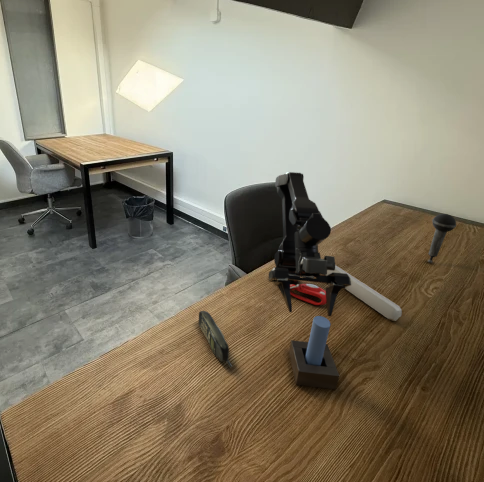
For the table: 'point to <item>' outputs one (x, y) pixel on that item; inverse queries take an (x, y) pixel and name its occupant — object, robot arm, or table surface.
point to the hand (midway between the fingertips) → (309, 314)
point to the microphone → (440, 232)
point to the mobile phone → (214, 337)
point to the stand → (312, 367)
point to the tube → (371, 297)
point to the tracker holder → (309, 290)
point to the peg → (317, 341)
